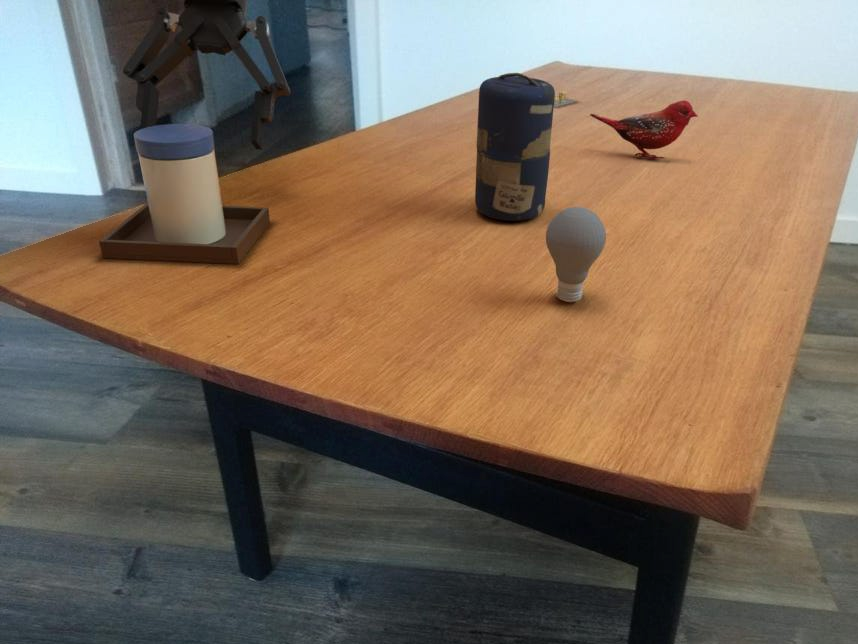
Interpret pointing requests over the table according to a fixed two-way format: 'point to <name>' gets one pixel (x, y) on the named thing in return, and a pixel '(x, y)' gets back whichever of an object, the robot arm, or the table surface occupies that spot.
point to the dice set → (562, 99)
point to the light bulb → (574, 248)
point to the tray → (140, 243)
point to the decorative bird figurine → (653, 127)
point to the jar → (184, 199)
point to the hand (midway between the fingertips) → (201, 141)
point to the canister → (513, 146)
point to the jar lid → (174, 141)
